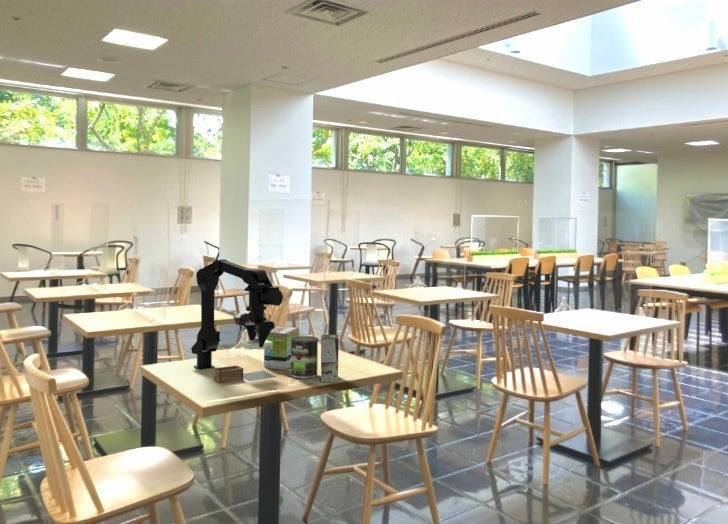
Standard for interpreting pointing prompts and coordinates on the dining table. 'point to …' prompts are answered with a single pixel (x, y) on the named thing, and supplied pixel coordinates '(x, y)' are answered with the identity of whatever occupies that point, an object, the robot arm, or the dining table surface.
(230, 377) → the box
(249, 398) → the dining table surface
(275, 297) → the robot arm
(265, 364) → the tea box
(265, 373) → the coaster
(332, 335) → the coffee box
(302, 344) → the coffee can
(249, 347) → the lid
